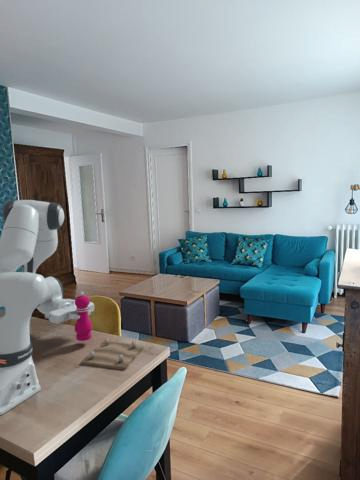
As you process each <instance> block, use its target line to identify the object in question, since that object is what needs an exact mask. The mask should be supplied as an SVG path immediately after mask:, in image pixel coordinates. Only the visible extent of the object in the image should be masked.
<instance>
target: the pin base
mask: <svg viewBox="0 0 360 480" xmlns="http://www.w3.org/2000/svg"><path fill="white" fill-rule="evenodd" d="M142 350H144V345H142V344H136V341H135V340H133V341H131V343H126V342H115V341H109V338H108V337H107V338H104V341H102V342H101V343H99V344H98V346H96V347H95V348H94V349H93V350H91V351H89V353H88V354H87V355H86V356H85V357H84V358H83V359H82V360H80V364H81V365H84V366H85V365H86V366H91V367H93V366H94V367H101V368H109V369H117V370H123V371H124V370H126V369H127V368H128V367H129V366H130V365H131V364H132V363H133V361H134V360H135V359H136V358H137V357H138V356H139V354H140V353H141V352H142Z"/></svg>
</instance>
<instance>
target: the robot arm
mask: <svg viewBox="0 0 360 480" xmlns="http://www.w3.org/2000/svg"><path fill="white" fill-rule="evenodd" d="M1 215H2V216H1V217H2V220H3V222H4V224H3V228H2V232H1V235H0V308H2V307H3V308H4V309H5V314H4V315H3V316H1V317H0V416H2V415H4V414H5V413H7V412H8V411H11V409H13V408H16V406H18V405H20V404H21V403H23V402H24V401H26V400H27V399H30V397H33V395H35V394H37V393H38V392H40V391H41V389H42V388H41V385H40V384H39V382H40V381H39V379H38V375H37V372H36V370H37V369H36V366H35V364H34V360H33V346H32V345H33V344H32V342H31V337H30V336H31V335H30V322H31V321H30V320H31V317H32V314H33V313H34V311H35V310H36V309H37V310H38V311H39V312H40V313H41V314H43V315H44V318H45V319H48V321H49V322H51V323H53V324H55V325H56V324H57V325H58V324H61V323H64V322H67V321H70V320H76V321H77V319H80V315H79V314H78V312H77V311H76V310H77V309H76V308H77V306H76V305H75V299H76V298H77V297H75V298H63V297H64V287H63V283H62V282H61V281H60V280H59V279H58V278H56V277H55V276H51V275H50V276H48V277H44V276H43V275H42V274H38V273H36V272H37V270H38V268H39V266H41V264H42V263H44V262H45V261H46V260H47V259H48V258H50V257H51V256H53V254H54V253H56V251H57V249H58V248H57V247H58V244H59V240H58V238H59V237H58V230H59V229H60V228H61V227H63V224H64V221H65V212H64V208H63V207H62V205H61V204H59V203H56V202H49V201H42V200H36V199H35V200H34V199H11V200H7V202H6V203H4V205H3V207H2V212H1ZM19 268H21V271H17V270H18V269H19ZM88 307H89V308H88V309H89V310H88V316H91V313H93V312H95V304H94V302H92V301H90V303H89V305H88Z"/></svg>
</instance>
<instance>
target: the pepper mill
mask: <svg viewBox="0 0 360 480" xmlns="http://www.w3.org/2000/svg"><path fill="white" fill-rule="evenodd" d="M75 298H76V299H75ZM75 298H74V299H75V305H76V306H77V308H76V309H77V310H76V311H77V312H78V314H79V315H80V319H77V320H76V321H75V325H74V332H75V333H76V334H75V339H76V341H78V342H79V341H80V342H84V341H89V340H91V338H92V336H93V335H92V330H93V325H92V322H91V320H90V318H89V315H88V310H89V309H88V308H89V307H88V305H89V303H90V302H91V301H90V298H89V296H87V295H85V293H84V292H83V291H81V292H79V295H77V297H75Z"/></svg>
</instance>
